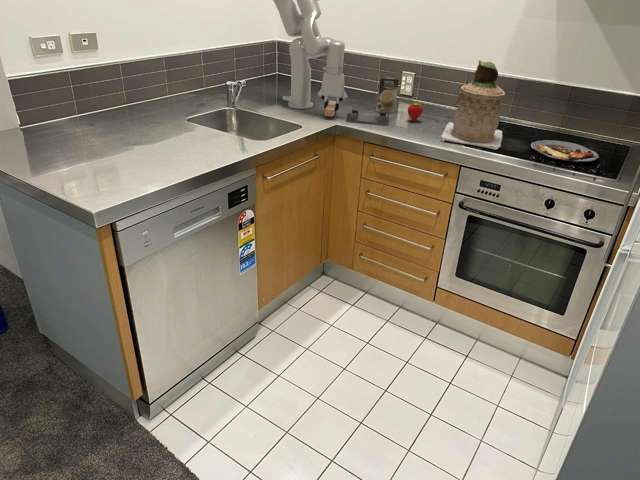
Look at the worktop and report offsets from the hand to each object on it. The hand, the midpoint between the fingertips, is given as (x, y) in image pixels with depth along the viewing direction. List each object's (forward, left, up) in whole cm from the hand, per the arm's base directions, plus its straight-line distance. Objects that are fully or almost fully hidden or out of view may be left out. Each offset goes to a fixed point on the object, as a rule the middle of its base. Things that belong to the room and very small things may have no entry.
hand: (331, 110), depth 228 cm
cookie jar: (+64, -13, -3) cm, 65 cm away
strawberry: (+39, +4, -3) cm, 39 cm away
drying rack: (+18, -2, -3) cm, 18 cm away
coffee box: (+25, +17, -3) cm, 30 cm away
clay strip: (0, 0, -1) cm, 1 cm away
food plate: (+99, -25, -3) cm, 102 cm away
